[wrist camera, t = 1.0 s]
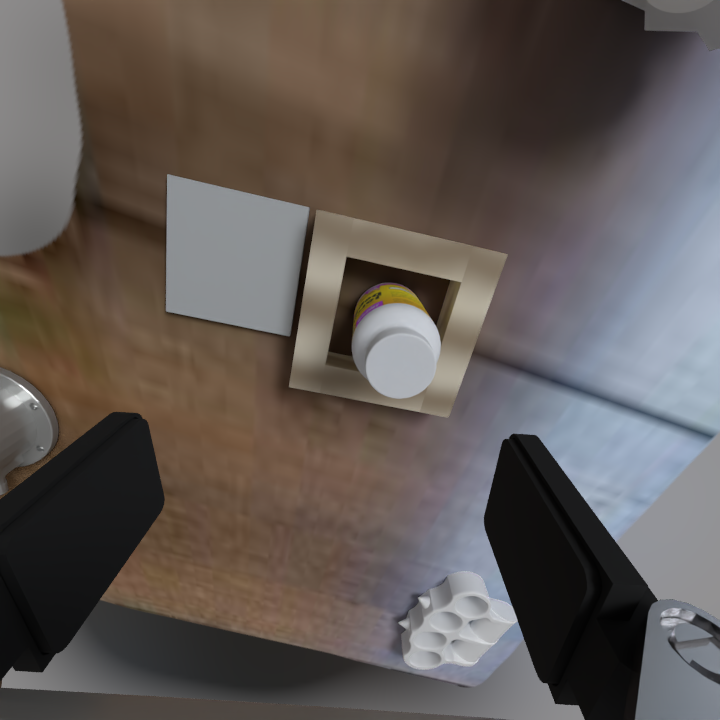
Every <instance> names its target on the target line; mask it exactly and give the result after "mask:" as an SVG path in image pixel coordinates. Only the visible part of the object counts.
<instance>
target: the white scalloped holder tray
mask: <svg viewBox="0 0 720 720" xmlns="http://www.w3.org/2000/svg"><path fill="white" fill-rule="evenodd" d="M417 598H418V600H419V602H418V604H417V605H416V606H415V607H414V608H412V609H410V610H409V611H408V614H407V617H406V619H404V620H402V621H400V622H398V623H399V624H400V625H401V626H403V627H404V628H405V629H406V630H405V631H404V632H403V633H401V641H402V652H403V659H404V661H405V662H406V664H407V665H409V666H410V667H412V668H415V669H421V670H426V669H433V668H436V667H438V666H440V665H442V664H447V663H453V664H457V665H460V666H470V667H471V666H473V665H474V664H476V663H477V662H478V661H479V658H480V657H481V656H482V655H483V654H484V653H485V652H486V651H487V650H488V649H489V648H490V647H491V646H493V645H494V644H496V643H497V642H498V639H499V638H500V637H501V636H502V635H503V634H504V633H505V632H506V631H507V630H508V629H509V628H510V627H511V626H512V625H513V624H515V623H516V622H517V621H518V620H517V617H516V614H515V612H514V609H513V607H512V606H511V605H509V604H508V603H506V602H504V601H501V600H498V599H492V598H489V595H488V593H487V590H486V587H485V584H484V581H483V579H482V578H481V577H480V576H479V575H477V574H475V573H472V572H467V571H461V572H455V573H452V574H450V575H448V576H447V578H446V580H445V581H444V583H442V584H441V585H440V586H438V587H436V588H432V589H429V590H428V591H426V592H425V593H424V594H422V595H421V596H420V597H417Z"/></svg>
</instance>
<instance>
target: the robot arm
mask: <svg viewBox="0 0 720 720" xmlns="http://www.w3.org/2000/svg"><path fill="white" fill-rule="evenodd" d="M58 432H59V429H58V421H57V419H56V416H55V413H54V411H53V409H52V407H51V406H50V404H49V402H48V401H47V400H46V398H45V397H44V396H43V395H42V393H40V392H39V391H38V390H37V389H36V388H35V387H34V386H33V385H32V384H30V383H29V382H28V381H26V380H25V379H23V378H22V377H20V376H18V375H16V374H14V373H13V372H11V371H8V370H6V369H3V368H0V495H2V494H4V493H6V492H7V491H8V490H9V489H8V484H7V479H6V478H5V476H6V475H7V473H9V472H10V471H12V470H13V469H14V468H16V467H21V466H27V465H30V464H33V463H35V462H37V461H39V460H41V459H42V458H43V457H45V456H46V455H47V454H48V453H50V451H51V450H52V449H53V448H54V446H55V444H56V442H57V439H58ZM163 505H164V493H163V489H162V484H161V480H160V475H159V471H158V466H157V462H156V457H155V453H154V448H153V444H152V439H151V434H150V430H149V425H148V422H147V421H146V420H145V419H142V417H141V415H140V414H138V413H125V412H113V413H111V414H109V415H108V416H107V417H105V418H104V419H103V420H102V421H100V422H99V423H98V424H96V425H95V426H94V427H93V428H91V429H90V430H89V431H87V432H86V433H85V434H84V435H82V436H81V437H80V438H79V439H77V440H76V441H75V442H73V443H72V444H71V445H70V446H68V447H67V448H66V449H64V450H63V451H62V452H61V453H59V454H58V455H57V456H55V457H54V458H53V459H52V460H50V461H49V462H48V463H46V464H45V465H44V466H43V467H41V468H40V469H39V470H37V471H36V472H35V473H34V474H32V475H31V476H30V477H28V478H27V479H26V480H25V481H23V482H22V483H21V484H19V485H18V486H17V487H16V488H14V489H13V490H12V491H10V492H9V493H8V494H7V495H5V496H4V497H3V498H1V499H0V720H505V719H494V718H481V717H465V716H452V715H437V714H421V713H408V712H393V711H378V710H364V709H348V708H334V707H318V706H302V705H286V704H270V703H254V702H237V701H221V700H205V699H189V698H172V697H156V696H138V695H120V694H102V693H84V692H66V691H48V690H30V689H12V688H1V684H2V678H3V677H4V676H5V675H6V673H7V672H8V671H9V670H10V668H11V667H12V666H13V668H14V669H15V671H28V672H43V671H44V669H45V668H46V667H47V665H48V664H49V662H50V661H51V660H52V658H53V657H54V655H55V654H56V653H59V652H61V651H62V650H64V648H66V647H67V645H68V644H69V643H70V641H71V640H72V639H73V637H74V636H75V634H76V633H77V631H78V630H79V629H80V627H81V626H82V624H83V623H84V621H85V620H86V618H87V617H88V616H89V614H90V613H91V611H92V610H93V608H94V607H95V606H96V604H97V603H98V601H99V600H100V598H101V597H102V596H103V594H104V593H105V591H106V590H107V588H108V587H109V586H110V584H111V583H112V581H113V580H114V578H115V577H116V576H117V574H118V573H119V571H120V570H121V568H122V567H123V566H124V564H125V563H126V561H127V560H128V558H129V557H130V555H131V554H132V553H133V551H134V550H135V548H136V547H137V545H138V544H139V543H140V541H141V540H142V538H143V537H144V535H145V534H146V533H147V531H148V530H149V528H150V527H151V525H152V524H153V523H154V521H155V520H156V518H157V517H158V515H159V514H160V512H161V511H162V508H163ZM484 526H485V530H486V533H487V536H488V539H489V542H490V545H491V547H492V550H493V553H494V556H495V559H496V561H497V564H498V567H499V570H500V573H501V575H502V578H503V581H504V584H505V587H506V589H507V592H508V595H509V598H510V600H511V603H512V606H513V609H514V612H515V614H516V617H517V620H518V623H519V626H520V628H521V631H522V634H523V637H524V640H525V642H526V645H527V648H528V651H529V653H530V656H531V659H532V662H533V665H534V668H535V670H536V673H537V675H538V677H539V679H540V680H541V681H542V682H543V683H548V685H549V688H550V691H551V694H552V696H553V699H554V701H555V704H565V705H579V707H580V709H581V712H582V714H583V716H584V719H585V720H720V620H718V619H717V618H715V617H714V616H712V615H710V614H709V613H707V612H706V611H704V610H702V609H699V608H697V607H695V606H693V605H691V604H688V603H685V602H681V601H677V600H673V599H669V600H668V599H666V600H659V601H658V600H657V598H656V597H655V596H654V594H653V593H652V592H651V590H650V589H649V588H648V585H647V584H646V582H645V581H644V580H643V578H642V577H641V576H640V574H639V573H638V572H637V570H636V569H635V568H634V566H633V565H632V563H631V562H630V561H629V559H628V558H627V557H626V555H625V554H624V553H623V551H622V550H621V549H620V547H619V546H618V544H617V543H616V542H615V540H614V539H613V538H612V536H611V535H610V534H609V532H608V531H607V530H606V528H605V527H604V526H603V524H602V523H601V521H600V520H599V519H598V517H597V516H596V515H595V513H594V512H593V511H592V509H591V508H590V507H589V505H588V504H587V503H586V501H585V500H584V498H583V497H582V496H581V494H580V493H579V492H578V490H577V489H576V488H575V486H574V485H573V484H572V482H571V481H570V479H569V478H568V477H567V475H566V474H565V473H564V471H563V470H562V469H561V467H560V466H559V465H558V463H557V462H556V461H555V459H554V458H553V456H552V455H551V454H550V452H549V451H548V450H547V448H546V447H545V446H544V444H543V443H542V442H541V440H540V439H539V438H538V437H537V436H536V435H525V434H512V435H511V436H510V437H509V439H504V440H503V442H502V446H501V450H500V454H499V458H498V462H497V466H496V470H495V474H494V478H493V482H492V487H491V491H490V495H489V499H488V503H487V507H486V511H485V515H484Z"/></svg>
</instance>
